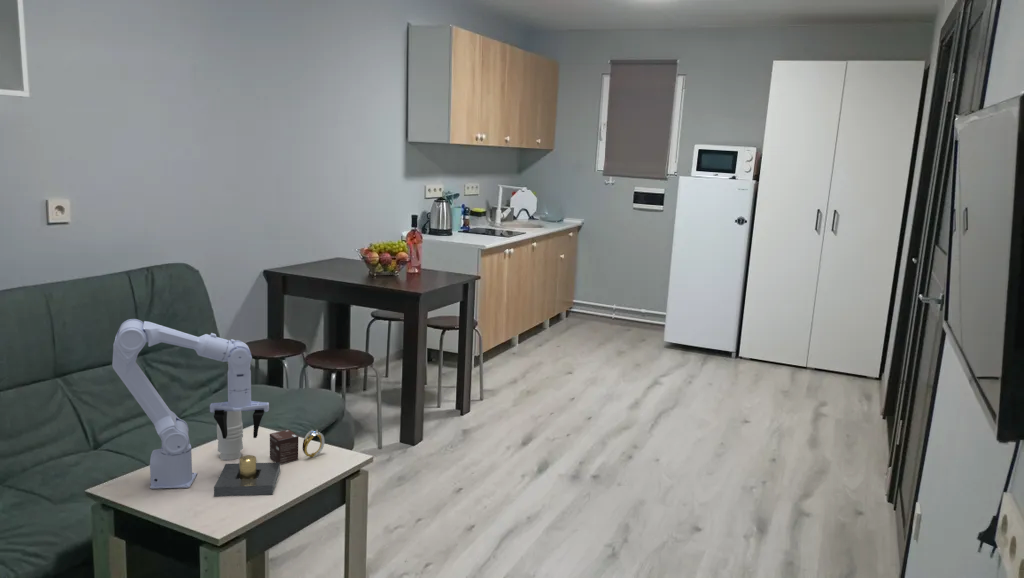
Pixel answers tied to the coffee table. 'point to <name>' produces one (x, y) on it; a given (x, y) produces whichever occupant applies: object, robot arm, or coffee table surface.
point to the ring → (306, 442)
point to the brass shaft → (248, 467)
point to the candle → (231, 437)
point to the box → (284, 446)
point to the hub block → (247, 480)
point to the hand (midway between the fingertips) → (240, 436)
